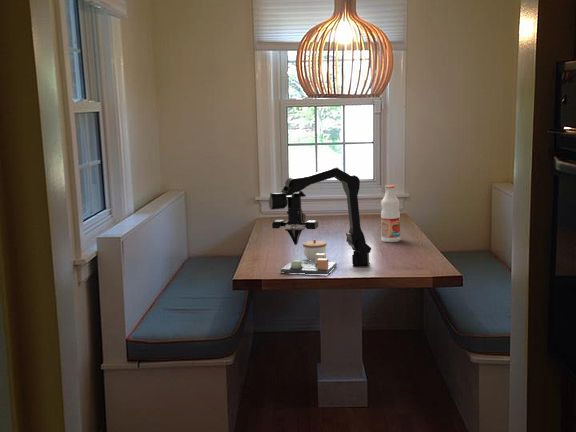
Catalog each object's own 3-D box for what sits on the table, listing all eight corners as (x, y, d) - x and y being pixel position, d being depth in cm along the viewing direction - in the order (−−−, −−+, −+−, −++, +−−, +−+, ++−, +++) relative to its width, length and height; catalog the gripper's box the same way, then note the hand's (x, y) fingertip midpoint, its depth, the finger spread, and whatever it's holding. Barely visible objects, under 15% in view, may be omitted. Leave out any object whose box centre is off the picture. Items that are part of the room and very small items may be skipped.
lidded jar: (312, 256, 317) (312, 236, 316) (331, 258, 310) (331, 238, 309) (298, 260, 309) (297, 240, 308) (317, 263, 302) (316, 242, 301)
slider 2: (328, 267, 284) (328, 258, 284) (326, 269, 282) (326, 260, 281) (319, 267, 286) (318, 258, 285) (317, 269, 283) (316, 259, 282)
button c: (303, 266, 289) (302, 259, 288) (299, 269, 285) (299, 262, 284) (293, 266, 290) (292, 259, 290) (289, 268, 286) (289, 261, 286)
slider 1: (326, 262, 294) (325, 253, 293) (324, 264, 291) (324, 255, 290) (317, 262, 295) (316, 253, 295) (315, 263, 292) (314, 254, 292)
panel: (336, 266, 295) (336, 262, 295) (326, 275, 280) (326, 270, 280) (292, 264, 302) (292, 260, 301) (280, 273, 287) (280, 268, 286)
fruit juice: (384, 238, 351) (383, 184, 347) (402, 239, 348) (401, 184, 343) (379, 242, 343) (378, 186, 338) (397, 242, 339) (397, 186, 335)
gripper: (321, 205, 288) (322, 241, 290) (279, 204, 294) (281, 240, 296) (313, 209, 277) (315, 246, 280) (270, 208, 283) (272, 245, 286)
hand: (295, 244), depth 286 cm, fingers closed
